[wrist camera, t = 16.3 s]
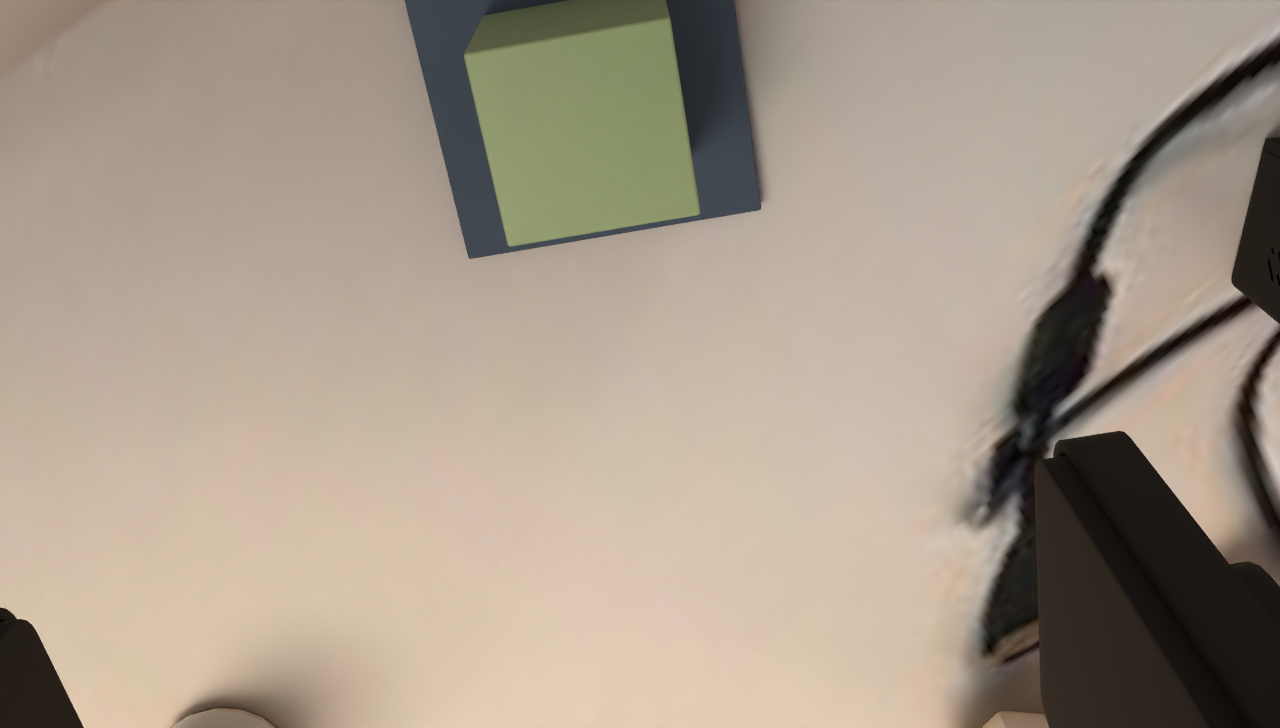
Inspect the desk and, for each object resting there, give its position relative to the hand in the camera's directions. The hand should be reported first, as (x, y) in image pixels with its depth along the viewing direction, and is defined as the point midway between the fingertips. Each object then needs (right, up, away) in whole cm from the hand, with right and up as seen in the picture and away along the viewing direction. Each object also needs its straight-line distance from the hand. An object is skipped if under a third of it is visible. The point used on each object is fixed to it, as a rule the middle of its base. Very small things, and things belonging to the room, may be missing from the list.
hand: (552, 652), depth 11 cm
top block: (0, +10, +20) cm, 22 cm away
